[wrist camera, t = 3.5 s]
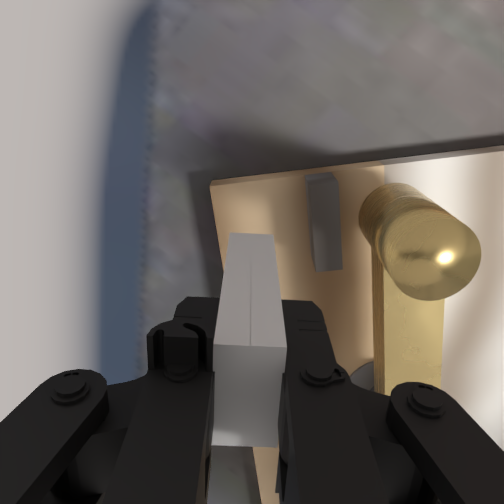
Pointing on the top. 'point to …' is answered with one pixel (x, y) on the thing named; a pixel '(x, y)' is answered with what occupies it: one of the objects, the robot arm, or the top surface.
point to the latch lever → (413, 280)
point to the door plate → (360, 270)
